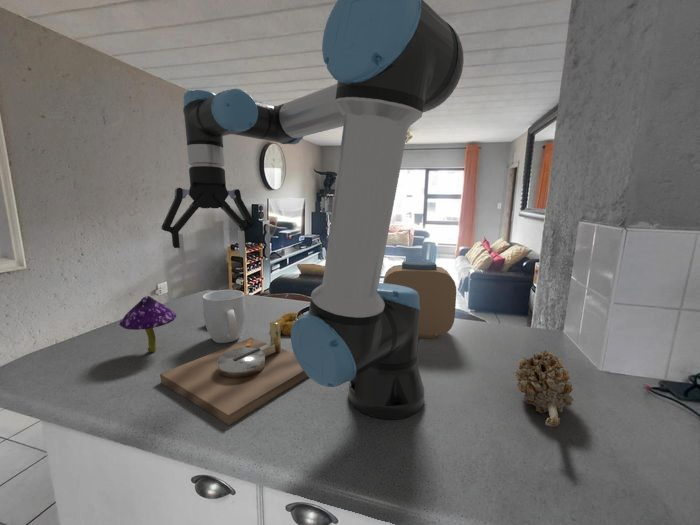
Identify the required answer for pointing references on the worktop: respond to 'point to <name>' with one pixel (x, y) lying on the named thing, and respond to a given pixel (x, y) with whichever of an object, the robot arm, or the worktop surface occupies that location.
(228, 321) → the mug
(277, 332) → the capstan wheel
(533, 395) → the morel mushroom
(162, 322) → the decorative mushroom
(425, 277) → the alarm clock
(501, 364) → the worktop surface
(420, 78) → the robot arm
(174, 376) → the base plate
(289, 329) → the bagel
